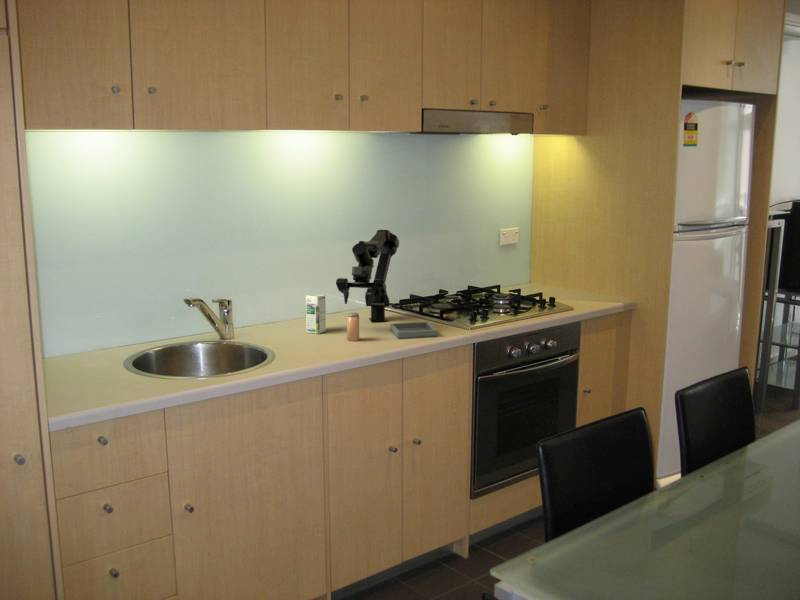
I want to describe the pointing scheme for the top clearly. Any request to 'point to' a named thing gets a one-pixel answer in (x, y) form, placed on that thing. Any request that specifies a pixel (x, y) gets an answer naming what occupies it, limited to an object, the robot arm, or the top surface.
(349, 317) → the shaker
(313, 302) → the syrup box
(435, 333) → the tray
